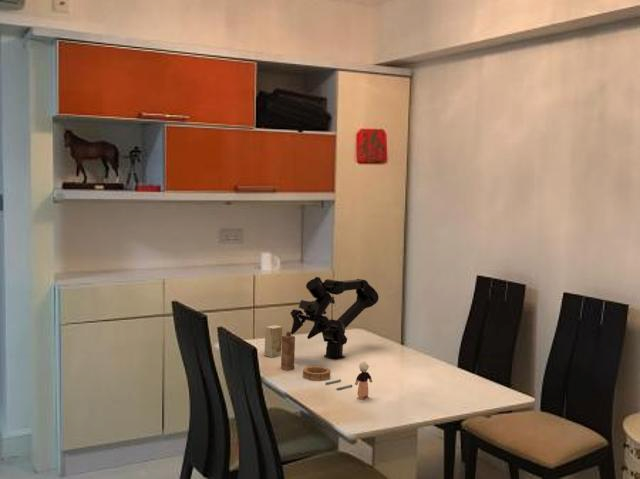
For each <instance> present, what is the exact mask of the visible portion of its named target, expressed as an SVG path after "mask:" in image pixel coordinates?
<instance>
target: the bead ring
mask: <svg viewBox="0 0 640 479" xmlns="http://www.w3.org/2000/svg"><path fill="white" fill-rule="evenodd" d="M302 378H303V379H305V380H309V381H314V382H316V381H318V382H321V381H327V380H330V378H331V369H330V368H328V367H325V366H317V365H315V366H314V365H312V366H306V367H304V368H303V370H302Z"/></svg>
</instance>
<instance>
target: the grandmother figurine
mask: <svg viewBox="0 0 640 479" xmlns="http://www.w3.org/2000/svg"><path fill="white" fill-rule="evenodd" d="M358 367H359V371H360V372H361V373H358V374H357V377H356V378H355V382H354V385H355V386H357V385H358V388H357V398H356V399H358V400H361V401H365V400H366V399H370V397H369V382H370V384H371V383H373V379H372V376H371V375H370V373H369V372H368V369H369V368H370V367H369V364H368V363H367V362H366V361H361V362H359V365H358ZM368 380H369V381H368Z"/></svg>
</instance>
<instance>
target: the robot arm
mask: <svg viewBox="0 0 640 479" xmlns="http://www.w3.org/2000/svg"><path fill="white" fill-rule="evenodd" d="M305 285H306V286H305V287H306V288H305V289H307V291H308V292H309V294H310V295H311V296H312V298H314V299H315V300H312V301H307V300H303V299H301V300H300V303H299V305H298V309H294V308H293V309H292V310H291V311H290V312H289V313H290V315H291V318H292V319H293V321H292V326H291V331H290V332H291V335H292V336H294V334H296V332H297V331H299V329H300V328H302V326H304V323H306V321H308V322H313V326H312V328H311V330H310V331H309V333H308V335H307V337H306V338H307V339H308V340H310V339H312V338H314V337H315V336H317V335H318V334H319V335H320V334H321V335H322V338H323V342H325V343H326V347H325V354H324V355H323V357H325V358H328V359H331V360H338V359H339V360H340V359H343V358H344V359H345V358H346V356H345V355H344V354H343V352H344V345H345V344H347V341H348V338H347V336H346V335H345V333H346V329H347V327H348V326H350V324H351V323H352V322H353V321H355V319H356V318H357V317H358V316H359V315H361V314H362V312H363V311H364V310H365V309H369V308H371V307H373V306H374V305H376V304H377V303H378V302H379V293H378V292H377V291H376V289H375V288H374V287H372V286H371V284H370V283H369V282H368V281H367V279H361V278H356V279H349V280H347V279H346V280H336V279H335V280H334V279H330V278H327V279H325V280H324V281H322V279H321V278H320V276H315V277H314V278H313V279H311V280H309V281H308V282H307V283H306V284H305ZM346 291H355V293H356V300H355V302H354V303H352V305H351V306H349V307H348V309H346V310H345V312H343V313H342V314H341V315H340V316H339V317H338V319H332V318H331V319H329V317H328V316H326V314H327V309H328V308H329V306H330V304H331V305H332V304H333V305H335V303H336V300H335V297H334V296H332V295H335V296H338V295H341V294H343V293H344V292H346ZM301 309H302V310H303V311H302V310H301Z"/></svg>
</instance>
